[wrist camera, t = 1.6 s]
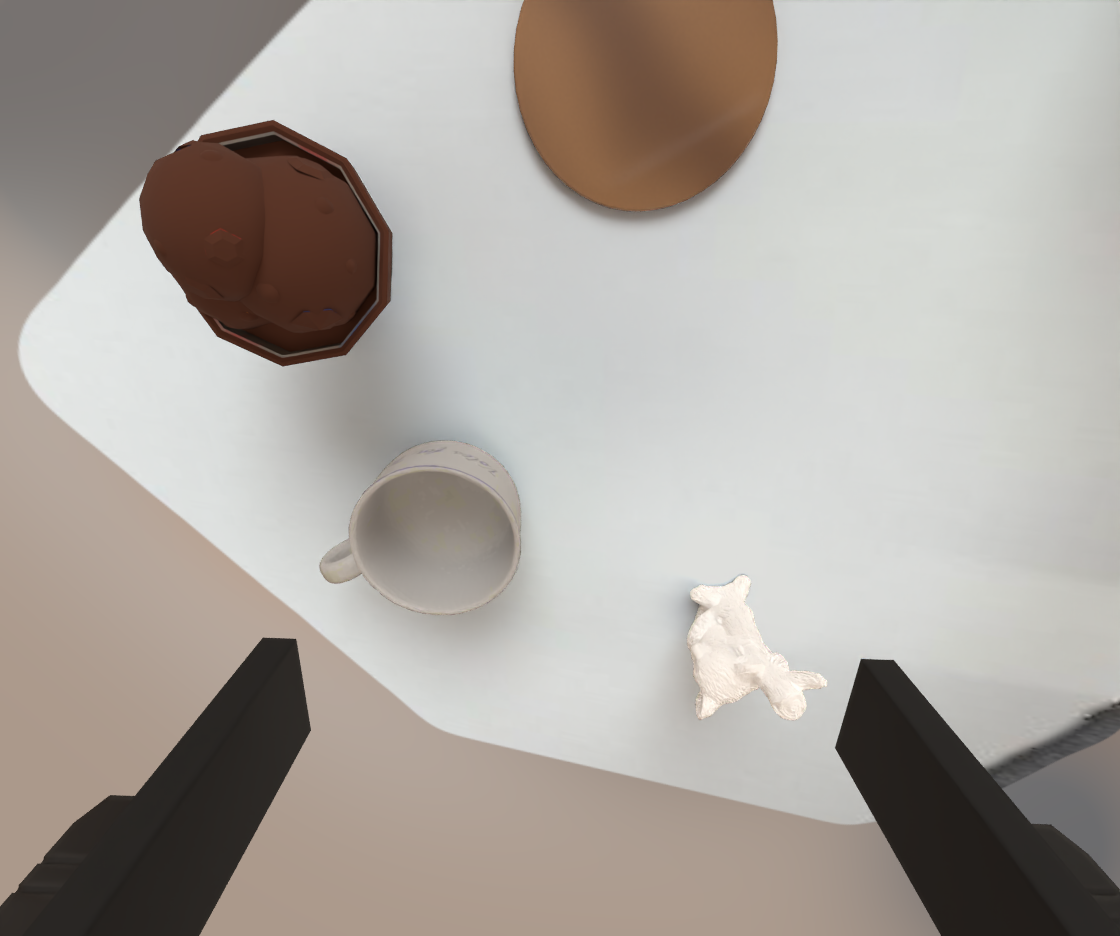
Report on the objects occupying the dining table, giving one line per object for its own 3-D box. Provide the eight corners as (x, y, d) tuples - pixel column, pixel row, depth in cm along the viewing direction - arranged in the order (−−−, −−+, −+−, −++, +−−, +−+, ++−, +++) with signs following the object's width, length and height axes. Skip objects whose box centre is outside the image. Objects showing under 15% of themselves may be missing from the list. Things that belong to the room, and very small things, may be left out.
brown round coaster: (622, -176, 28) (623, -185, 27) (829, 33, 31) (834, 29, 30) (465, 103, 32) (463, 100, 31) (660, 262, 35) (661, 262, 34)
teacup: (515, 418, 39) (502, 455, 31) (538, 549, 42) (533, 610, 35) (328, 444, 40) (273, 486, 32) (368, 571, 43) (326, 635, 36)
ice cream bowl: (272, 331, 37) (90, 371, 23) (263, 145, 33) (37, 54, 19) (427, 353, 37) (343, 406, 23) (437, 172, 33) (344, 104, 19)
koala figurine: (748, 550, 42) (815, 653, 31) (779, 613, 44) (852, 731, 33) (651, 594, 44) (681, 707, 33) (685, 653, 46) (724, 779, 35)
